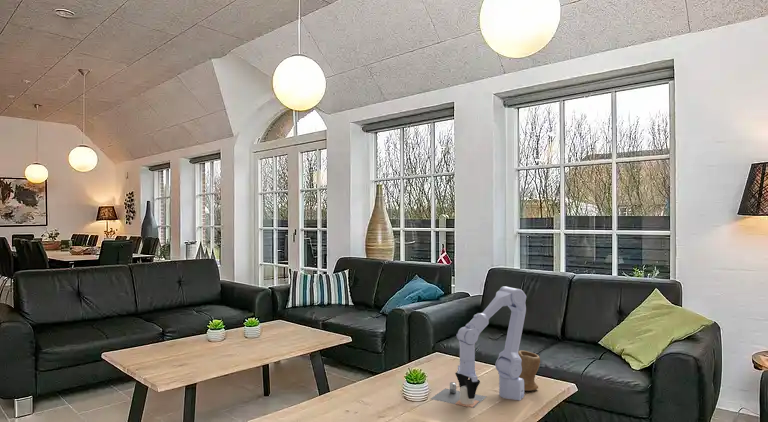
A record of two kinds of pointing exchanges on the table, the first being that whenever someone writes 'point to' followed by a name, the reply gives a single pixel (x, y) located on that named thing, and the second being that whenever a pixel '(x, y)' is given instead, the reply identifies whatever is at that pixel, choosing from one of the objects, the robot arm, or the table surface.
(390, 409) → the table surface
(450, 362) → the table surface
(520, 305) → the robot arm
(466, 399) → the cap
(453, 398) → the base board
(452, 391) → the metal post
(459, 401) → the terracotta pad
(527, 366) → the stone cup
